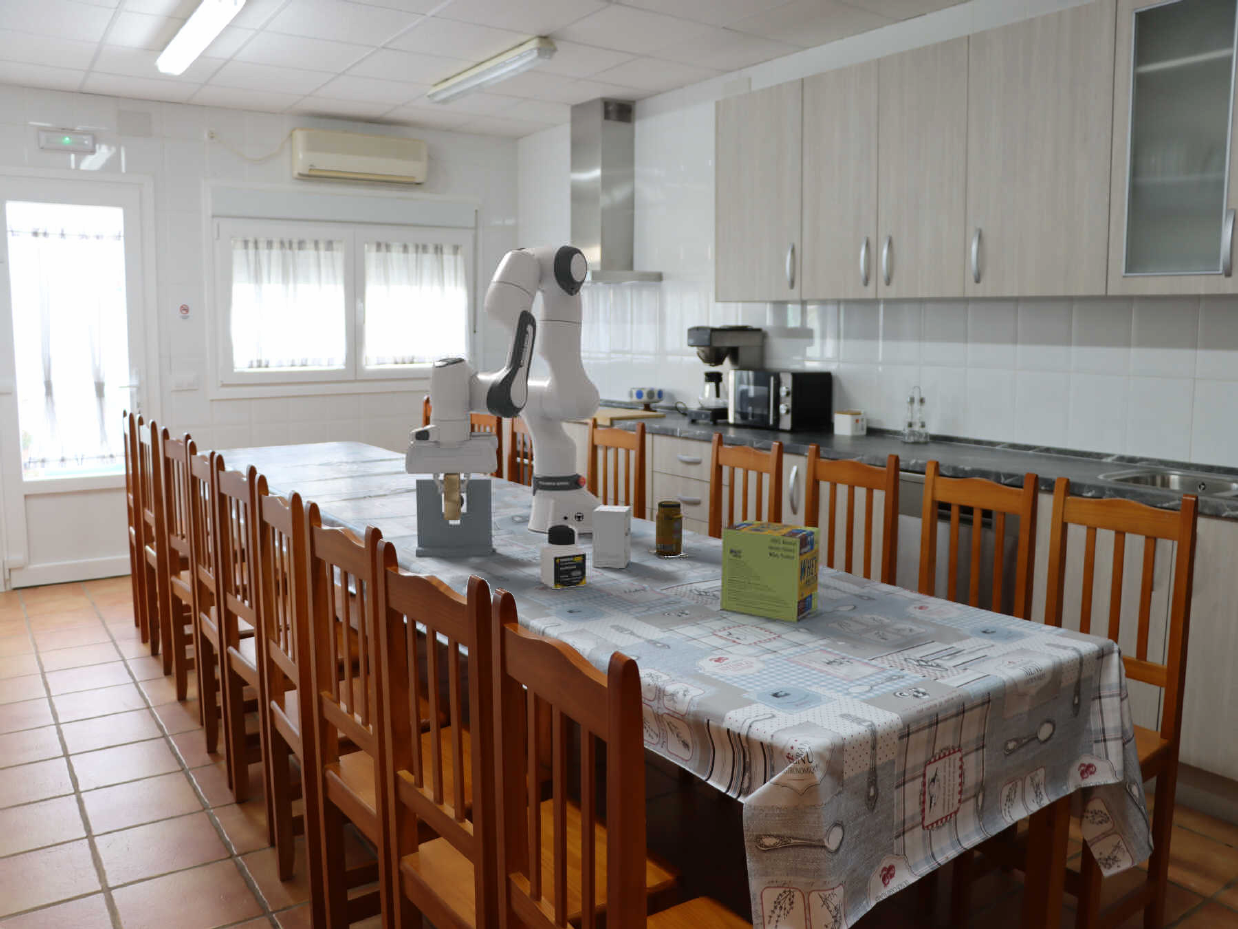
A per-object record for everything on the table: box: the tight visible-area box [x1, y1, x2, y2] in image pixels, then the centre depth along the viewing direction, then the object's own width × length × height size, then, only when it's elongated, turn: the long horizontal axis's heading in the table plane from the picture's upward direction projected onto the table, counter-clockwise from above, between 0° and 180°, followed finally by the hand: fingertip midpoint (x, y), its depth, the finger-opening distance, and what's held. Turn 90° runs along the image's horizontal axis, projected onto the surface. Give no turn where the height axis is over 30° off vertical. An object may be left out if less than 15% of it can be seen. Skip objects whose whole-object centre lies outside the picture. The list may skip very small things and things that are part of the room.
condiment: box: [648, 500, 691, 559], centre depth 224 cm, size 7×8×12 cm
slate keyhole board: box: [415, 478, 494, 557], centre depth 225 cm, size 17×8×17 cm, turn 94°
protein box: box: [720, 519, 821, 623], centre depth 180 cm, size 10×15×16 cm
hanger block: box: [442, 473, 465, 521], centre depth 220 cm, size 4×10×10 cm, turn 5°
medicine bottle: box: [540, 525, 587, 590], centre depth 197 cm, size 7×7×12 cm
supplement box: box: [592, 505, 632, 569], centre depth 214 cm, size 7×7×13 cm
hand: (452, 493), depth 218 cm, fingers closed on hanger block, 3 cm apart
